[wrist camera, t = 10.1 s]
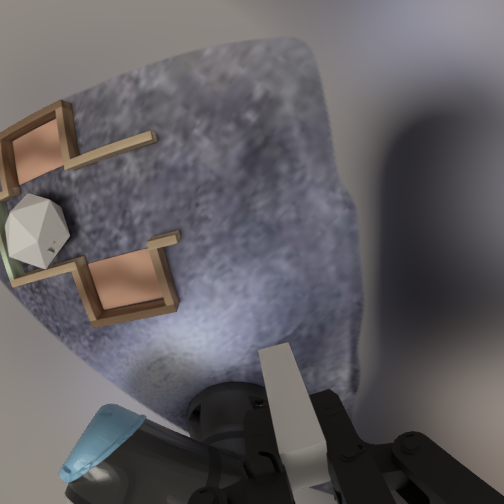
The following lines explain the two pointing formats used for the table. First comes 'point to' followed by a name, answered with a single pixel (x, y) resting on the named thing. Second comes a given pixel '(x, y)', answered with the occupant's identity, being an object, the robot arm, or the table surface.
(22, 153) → the channel
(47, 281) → the table surface
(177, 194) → the table surface
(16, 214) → the die
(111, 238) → the table surface
